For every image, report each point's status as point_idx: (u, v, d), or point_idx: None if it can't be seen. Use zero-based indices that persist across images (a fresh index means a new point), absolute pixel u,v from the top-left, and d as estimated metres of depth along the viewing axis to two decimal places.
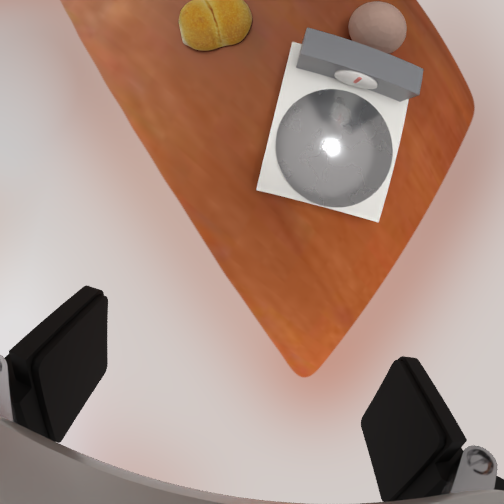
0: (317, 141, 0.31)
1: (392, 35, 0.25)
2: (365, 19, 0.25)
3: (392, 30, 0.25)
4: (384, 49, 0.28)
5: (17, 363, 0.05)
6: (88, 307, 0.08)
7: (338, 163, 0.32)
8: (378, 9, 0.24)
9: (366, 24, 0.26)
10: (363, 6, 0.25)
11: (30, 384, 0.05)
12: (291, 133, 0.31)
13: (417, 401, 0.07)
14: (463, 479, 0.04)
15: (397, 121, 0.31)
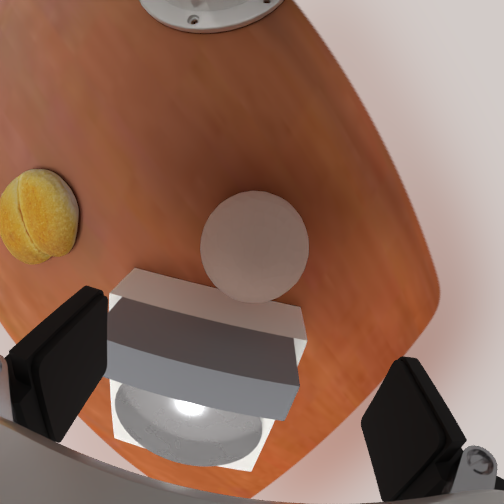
0: (161, 419, 0.23)
1: (260, 301, 0.17)
2: (209, 269, 0.17)
3: (257, 298, 0.17)
4: None
5: (17, 363, 0.05)
6: (88, 307, 0.08)
7: (190, 438, 0.24)
8: (226, 260, 0.16)
9: (211, 278, 0.18)
10: (212, 227, 0.17)
11: (30, 384, 0.05)
12: (130, 409, 0.23)
13: (417, 401, 0.07)
14: (463, 479, 0.04)
15: None
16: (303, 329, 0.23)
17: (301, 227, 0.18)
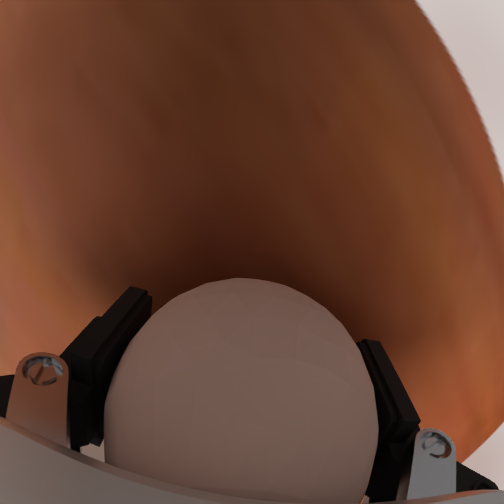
0: None
1: None
2: None
3: None
4: None
5: (78, 363, 0.06)
6: (137, 307, 0.08)
7: None
8: None
9: None
10: (112, 424, 0.05)
11: (90, 383, 0.06)
12: None
13: (373, 381, 0.08)
14: (421, 466, 0.05)
15: None
16: None
17: (371, 412, 0.05)
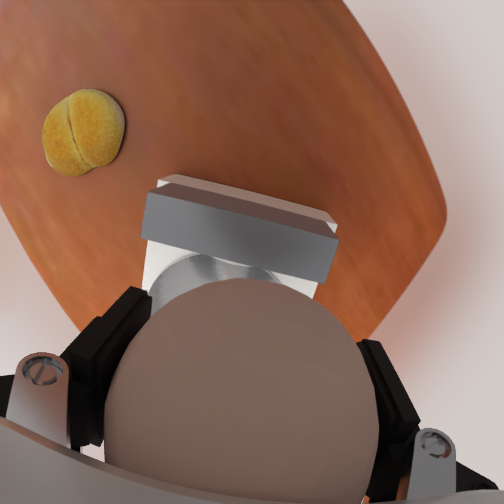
0: None
1: None
2: None
3: None
4: None
5: (78, 363, 0.06)
6: (137, 307, 0.08)
7: None
8: None
9: None
10: (112, 425, 0.05)
11: (90, 383, 0.06)
12: None
13: (373, 381, 0.08)
14: (421, 466, 0.05)
15: (306, 285, 0.26)
16: (332, 220, 0.25)
17: (372, 412, 0.05)
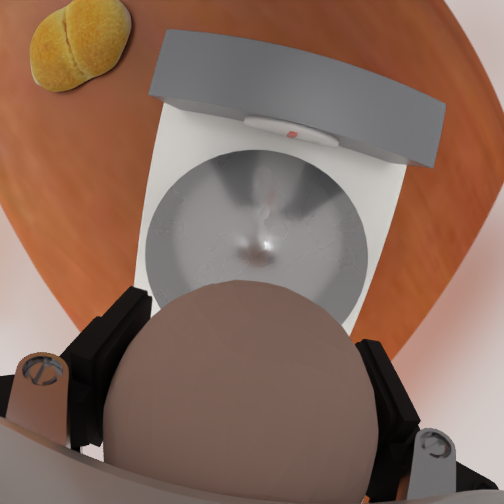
0: (217, 258, 0.18)
1: None
2: None
3: None
4: None
5: (78, 363, 0.06)
6: (137, 307, 0.08)
7: None
8: None
9: None
10: (111, 427, 0.05)
11: (90, 383, 0.06)
12: (169, 245, 0.17)
13: (373, 381, 0.08)
14: (420, 466, 0.05)
15: (383, 203, 0.17)
16: None
17: (371, 415, 0.05)
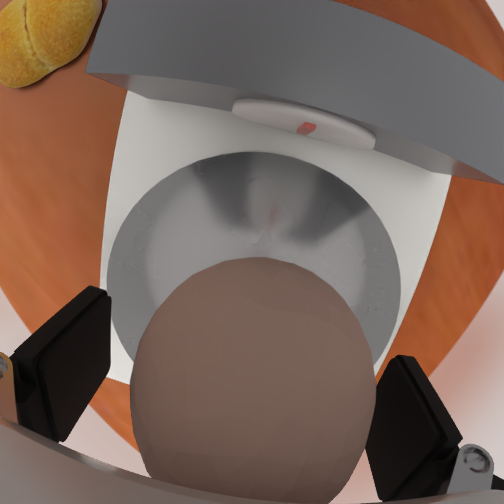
0: None
1: None
2: None
3: None
4: None
5: (22, 363, 0.05)
6: (92, 307, 0.08)
7: None
8: None
9: None
10: (144, 376, 0.06)
11: (35, 384, 0.05)
12: (136, 282, 0.13)
13: (413, 399, 0.07)
14: (459, 478, 0.04)
15: (421, 226, 0.12)
16: None
17: (370, 367, 0.07)
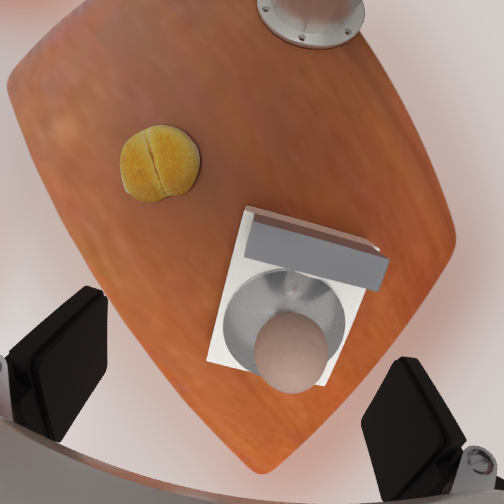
0: None
1: None
2: (264, 374, 0.25)
3: None
4: None
5: (17, 363, 0.05)
6: (88, 307, 0.08)
7: None
8: (279, 373, 0.24)
9: (265, 378, 0.25)
10: (268, 347, 0.25)
11: (30, 384, 0.05)
12: (238, 318, 0.32)
13: (417, 401, 0.07)
14: (463, 479, 0.04)
15: (355, 296, 0.32)
16: (374, 245, 0.32)
17: (325, 346, 0.26)
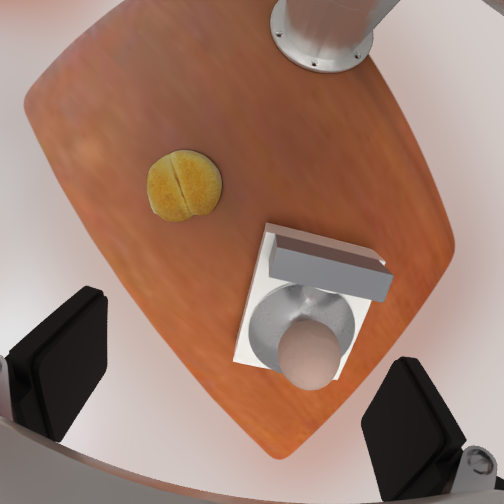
0: (285, 330, 0.36)
1: None
2: (287, 374, 0.30)
3: (314, 389, 0.29)
4: None
5: (17, 363, 0.05)
6: (88, 307, 0.08)
7: None
8: (301, 374, 0.28)
9: (288, 378, 0.30)
10: (290, 352, 0.30)
11: (30, 384, 0.05)
12: (262, 324, 0.36)
13: (417, 401, 0.07)
14: (463, 479, 0.04)
15: (364, 302, 0.36)
16: (380, 257, 0.36)
17: (338, 349, 0.30)
